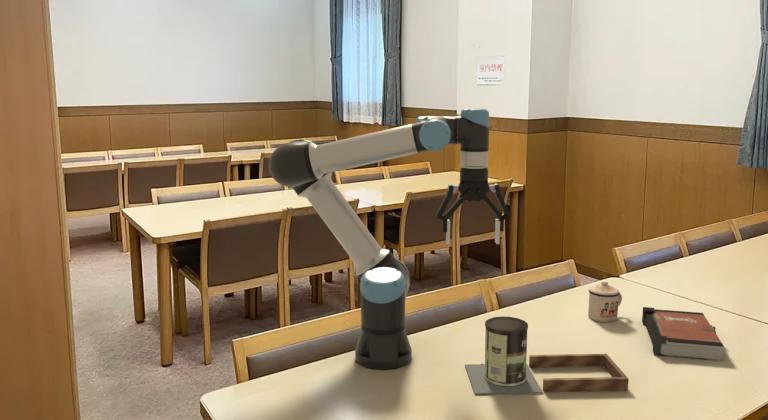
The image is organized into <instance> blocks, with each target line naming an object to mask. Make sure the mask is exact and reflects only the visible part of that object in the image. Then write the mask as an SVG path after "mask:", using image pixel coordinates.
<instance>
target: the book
mask: <svg viewBox="0 0 768 420" xmlns="http://www.w3.org/2000/svg"><path fill="white" fill-rule="evenodd" d="M641 322H642V325H643V326H645V329H646V331H647V334H648V337H649V339H650V342H651V344H652V353H653V355H654V356H658V357H667V358H668V357H669V358H681V359H691V360H693V359H694V360H701V361H702V360H703V361H715V362H724V359H723V358H722V356H723V350H725V345H724V344H723V342H722V341H721V339H720V338H719V336H718V335H717V331H716V326H713V325H711V323H710V322H709V320H708V319H707V317H706V315H705V313H703V312H697V311H695V312H694V311H683V310H669V309H658V308H657V309H655V307H650V306H649V307H647V306H642V315H641Z"/></svg>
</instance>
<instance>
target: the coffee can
mask: <svg viewBox="0 0 768 420" xmlns="http://www.w3.org/2000/svg"><path fill="white" fill-rule="evenodd" d="M484 327H485V335H484V337H485V338H484V339H485V340H484V343H485V345H484V346H485V347H484V364H485V375H484V377H485V379H486V380H487V381H488V382H490V383H492V384H495V385H499V386H518V385H521V384H523V383H524V382H525V381H526V363H527V358H528V357H527V353H528V351H527V350H528V348H527V347H528V329H529V324H528V322H527V321H525V320H523V319H521V318H519V317H512V316H505V315H504V316H503V315H502V316H494V317H491V318H488V319H485V322H484Z"/></svg>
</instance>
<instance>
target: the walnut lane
mask: <svg viewBox="0 0 768 420" xmlns="http://www.w3.org/2000/svg"><path fill="white" fill-rule="evenodd" d="M528 360H529V361H528V367H529V369H531V368H535V369H536V368H579V367H580V368H583V367H585V368H586V367H589V368H590V367H591V368H592V367H604V369H605V370H606V372H608V374H609V375H610V376H607V377H605V376H604V377H601V376H600V377H599V376H598V377H561V378H559V377H554V378H553V377H550V378H549V377H547V378H542V392H543V393H565V392H566V393H567V392H568V393H569V392H572V393H573V392H576V393H577V392H620V391H622V392H626V391H629V377H627V375H626V374H625V373H624V372H623V370H622V369H621V368H620V367H619V366H618V365H617V363H615V361H614V360H613V359H612V358H611V357H610V356H609V354H608V353H576V354H574V353H572V354H568V353H567V354H561V353H560V354H529V357H528Z"/></svg>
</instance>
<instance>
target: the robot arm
mask: <svg viewBox="0 0 768 420" xmlns="http://www.w3.org/2000/svg"><path fill="white" fill-rule="evenodd" d="M489 112H490V111H488V110H487V109H486V108H463V109H461V112H460V115H455V116H446V115H443V116H442V115H441V116H440V115H437V116H436V115H435V116H434V115H425V116H417V118H416V122H415V123H410V124H406V125H401V126H398V127H396V126H395V127H392V128H387V129H383V130H379V131H374V132H371V133H365V134H362V135H356V136H352V137H348V138H344V139H339V140H335V141H331V142H326V143H322V144H318V145H317V144H316V143H314V142H313V141H310V140H307V139H302V138H301V139H300V138H299V139H294V140H291V141H290V142H287V143H284V144H281V145H279V146H278V147H277V148H275V150H274V151H273V152H272V153H271V155H270V157H269V161H268V170H269V173H270V175H271V177H272V178H273V180H274V181H275V182H276V183H277V184H279V185H281V186H283V187H285V188H286V187H287V188H292V190H293V191H294V192H295V194H296V195H297V197H300V198H301V197H302V198H305V199H307V200H308V202H309V203H310V205H311V206H312V207H313V209H314V210H315V211H316V213H317V214H318V216H319V217H320V218H321V219H322V221H323V222H324V224H325V225H326V226H327V228H328V229H329V230H330V232H331V233H332V235H334V237H335V239H336V240H337V242H339V244H340V245H341V246H342V248H343V249H344V251H345V252H346V254H347V255H348V256H349V258H350V259H351V260H352V262H353V263H354V264H355V265H356V271H355V272H356V273H355V274H356V276H357V277H358V279H359V280H360V283H359V289H360V290H359V291H360V322H361V326H360V329H361V330H360V334H359V336H358V340H357V343H356V346H355V351H354V358H355V362H357V364H359V365H360V366H363V367H365V368H369V369H374V370H392V369H397V368H400V367H401V368H402V367H404V366H406V365H408V364H409V363H410V362H411V361H412V359H413V355H412V354H413V353H412V350H413V349H412V345H411V343H410V340H409V338H408V335H407V331H406V299H407V296H408V292H409V289H410V287H411V286H410V285H411V277H410V271H409V270H408V268H407V266H406V265H405V263H403V262H402V261H401V260H399V259H397V258H396V257H395V256H394V254H393V253H392V252H391V251H390V249H387V248H383V247H381V245H380V244H379V242H377V240H376V239H375V237H374V236H373V235H372V233H371V232H370V231H369V229H368V228H367V226H366V225H365V223H363V221H362V220H361V218H360V217H359V216H358V214H357V213H356V211H355V210H354V209H353V208H352V206H351V204H350V203H349V201H347V199H346V198H345V196H344V195H343V194H342V192H341V191H340V190H339V188H338V187H337V185H336V184H335V183H334V181H333V180H332V176H333V173H334V172H340V171H344V170H348V169H354V168H357V167H363V166H367V165H370V164H375V163H379V162H384V161H388V160H392V159H393V160H394V159H398V158H402V157H407V156H411V155H415V154H420V153H425V152H437V151H440V150H443V149H444V148H446V147H447V145H460V154H459V155H460V158H459V159H460V160H459V163H460V166H461V167H459V183H458V185H456V184H452V183H449V184H448V185H447V191H446V194H445V196H444V198H443V200H442V201H441V204H440V206H439V207H438V209H437V211H436V212H435V213H436V214H435V217H436V218H437V219H438V220H441V225H442V226H441V228H442V232H443V233H445V243H446V245H447V246H451V221H450V218H451V217H452V215H453V214H454V213H455V212H456V211H457V209H459V207H460V206H461V205H462V204H463V203H464V202H465V201H467V202H472V201H475V202H480V201H482V200H483V201H484V203H486V205H487V206H488V207H489V208H490V210H491V211H492V212H493V213H494V215H496V217H497V218H495V221H494V222H495V225H494V227H495V228H494V243H495V244H496V245H500V244H501V243H500V239H501V238H500V234H501V233H503V232H504V227H505V226H504V225H505V220H506V219H510V218H511V217H512V215H511V213H510V211H509V208H508V207H507V205H506V201H505V200H504V198H503V196H502V194H501V189H500V187H501V186H500V185H499V184H498V183H494V184H489V168H488V167H487V166H488V165H489V143H490V113H489ZM490 190H491V192H492V193H494V196H495V197H496V201H497V202H498V204H499V206H500V208H501V209H502V212H503V213H501V212H500V211H499V210H498V208H497V206H495V205H494V203H493V202H492V201H491V199H490V198H489V197H488V196H487V193H488V192H489V191H490ZM457 191H458V192H459V193H460V194H459V195H458V197H457V199H456V200H455V201H454V202H453V203H452V204H451V206H450V207H449V208H447V206H448V205H449V202H450V200H451V199H452V196H453V194H455V193H456V192H457ZM446 208H447V210H446ZM444 212H445V213H444Z"/></svg>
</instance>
